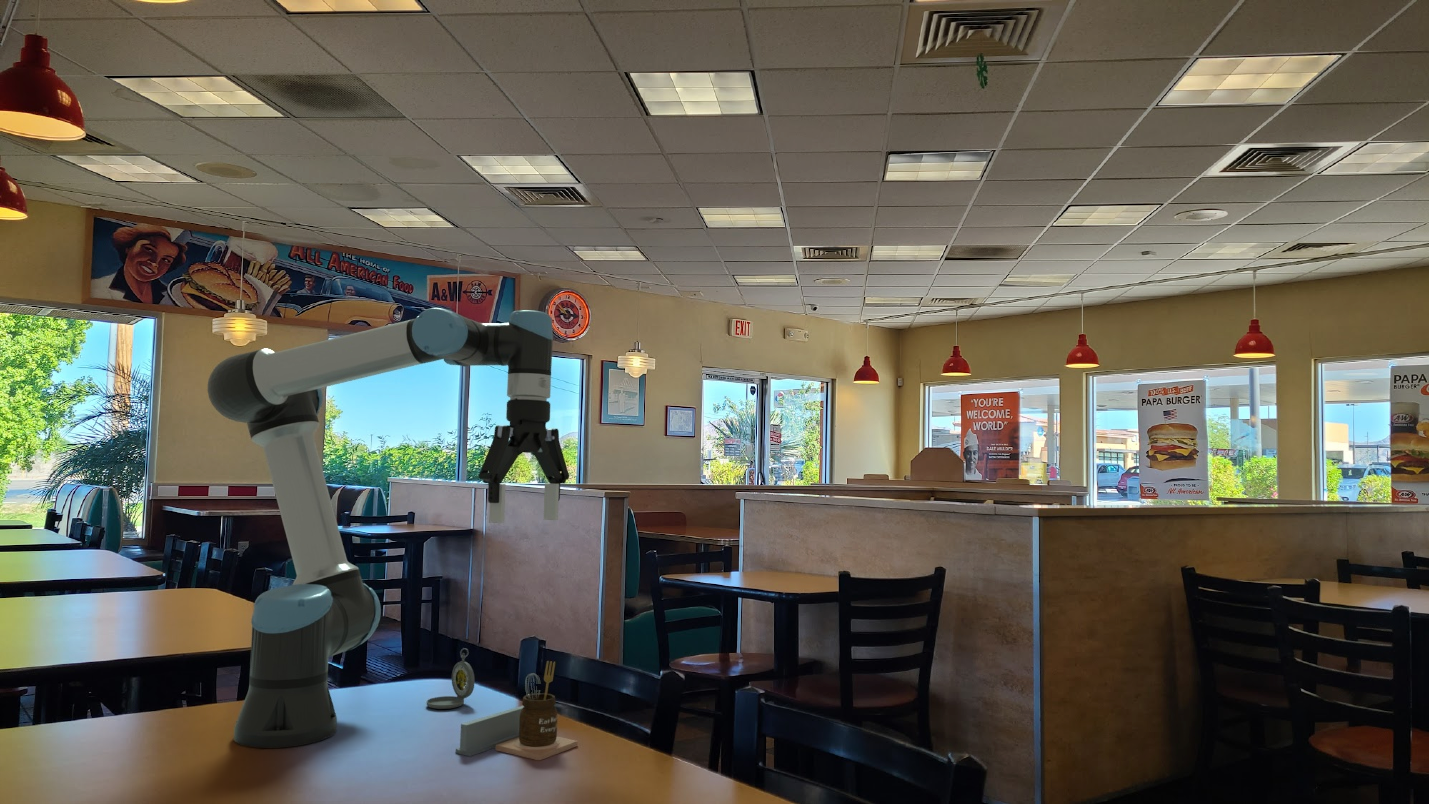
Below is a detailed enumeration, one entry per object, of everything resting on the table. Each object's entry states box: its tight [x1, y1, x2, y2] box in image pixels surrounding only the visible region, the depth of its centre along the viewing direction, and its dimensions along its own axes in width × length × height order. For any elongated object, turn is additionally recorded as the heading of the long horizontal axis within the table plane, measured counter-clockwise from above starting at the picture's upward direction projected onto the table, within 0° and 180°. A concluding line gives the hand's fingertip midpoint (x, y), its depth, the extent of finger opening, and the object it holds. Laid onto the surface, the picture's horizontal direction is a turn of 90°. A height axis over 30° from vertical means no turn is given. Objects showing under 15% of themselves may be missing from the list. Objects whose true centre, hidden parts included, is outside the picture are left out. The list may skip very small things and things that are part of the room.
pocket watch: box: [426, 647, 476, 710], centre depth 174 cm, size 8×8×10 cm
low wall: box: [455, 705, 524, 757], centre depth 153 cm, size 3×18×4 cm, turn 149°
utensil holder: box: [519, 660, 558, 747], centre depth 150 cm, size 6×6×12 cm
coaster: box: [495, 736, 578, 761], centre depth 149 cm, size 9×9×1 cm
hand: (524, 521), depth 164 cm, fingers open, 13 cm apart
